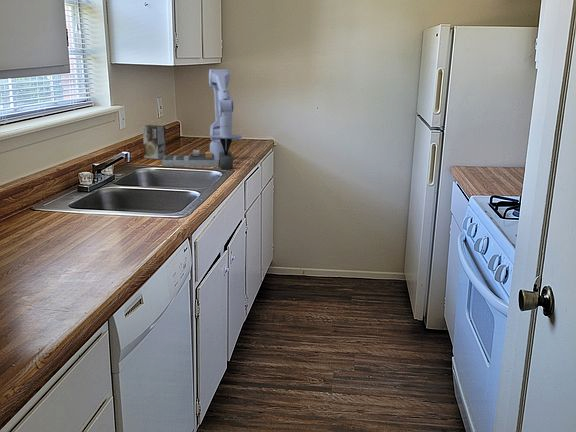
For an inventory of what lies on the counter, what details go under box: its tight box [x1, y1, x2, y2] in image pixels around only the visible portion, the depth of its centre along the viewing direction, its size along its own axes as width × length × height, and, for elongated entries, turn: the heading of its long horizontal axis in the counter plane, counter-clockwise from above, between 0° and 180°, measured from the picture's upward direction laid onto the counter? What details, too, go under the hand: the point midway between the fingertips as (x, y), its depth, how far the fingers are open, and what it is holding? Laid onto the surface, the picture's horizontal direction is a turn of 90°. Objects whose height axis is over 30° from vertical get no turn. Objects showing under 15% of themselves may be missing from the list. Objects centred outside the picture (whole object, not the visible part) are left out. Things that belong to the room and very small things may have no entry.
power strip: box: [161, 149, 220, 168], centre depth 276 cm, size 26×13×6 cm, turn 98°
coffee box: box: [142, 124, 167, 160], centre depth 290 cm, size 9×6×16 cm
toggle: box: [205, 151, 212, 158], centre depth 274 cm, size 3×4×3 cm
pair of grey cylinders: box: [219, 151, 234, 170], centre depth 275 cm, size 6×21×5 cm, turn 8°
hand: (226, 155), depth 275 cm, fingers closed
